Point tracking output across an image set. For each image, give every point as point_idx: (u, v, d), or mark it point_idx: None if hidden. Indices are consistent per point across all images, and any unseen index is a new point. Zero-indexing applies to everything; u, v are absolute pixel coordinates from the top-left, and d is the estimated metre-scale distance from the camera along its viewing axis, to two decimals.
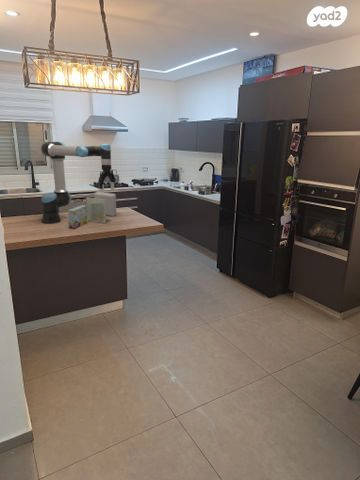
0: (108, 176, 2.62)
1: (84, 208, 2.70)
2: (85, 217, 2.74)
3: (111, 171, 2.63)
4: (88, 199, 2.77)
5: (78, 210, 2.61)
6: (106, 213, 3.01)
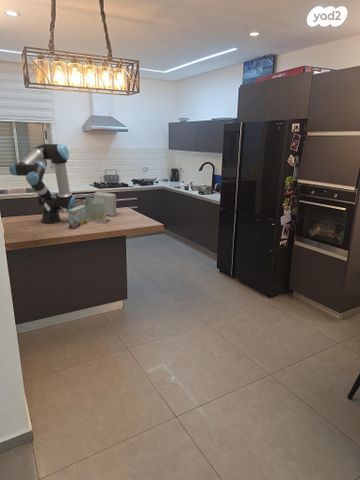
0: None
1: (84, 208, 2.70)
2: (85, 217, 2.74)
3: None
4: (88, 199, 2.77)
5: (78, 210, 2.61)
6: (106, 213, 3.01)
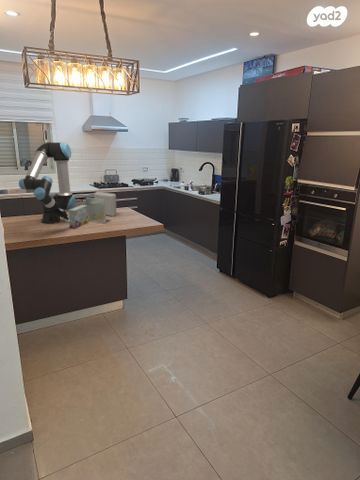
0: (60, 211, 2.46)
1: (85, 208, 2.71)
2: (86, 217, 2.74)
3: (61, 211, 2.41)
4: (88, 199, 2.77)
5: (79, 210, 2.61)
6: (106, 213, 3.01)
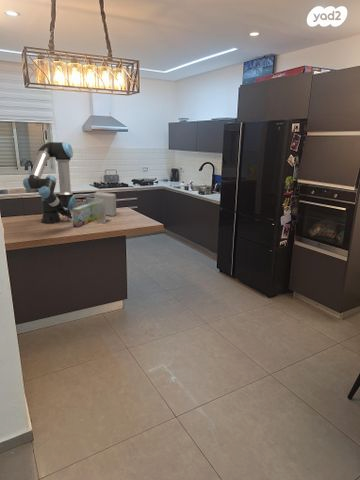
0: None
1: (88, 207, 2.74)
2: (89, 216, 2.78)
3: None
4: (88, 199, 2.77)
5: (82, 209, 2.65)
6: (106, 213, 3.01)
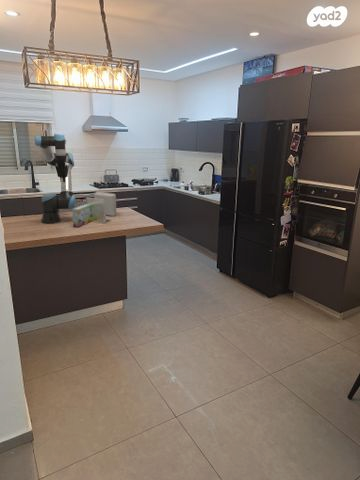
0: None
1: (88, 207, 2.74)
2: (89, 216, 2.78)
3: None
4: (88, 199, 2.77)
5: (82, 209, 2.65)
6: (106, 213, 3.01)
